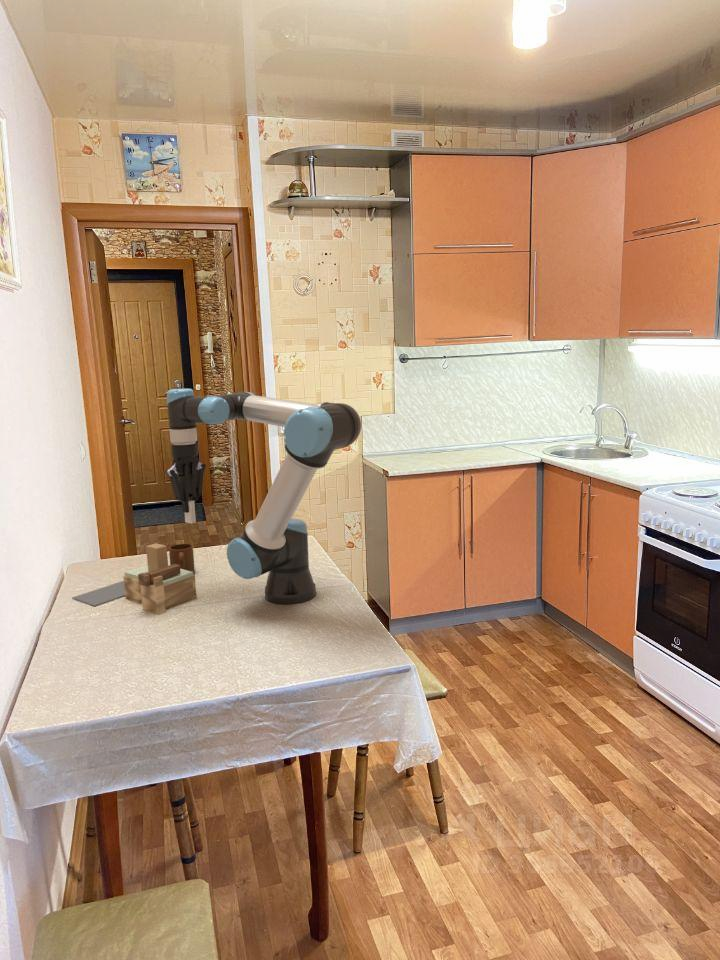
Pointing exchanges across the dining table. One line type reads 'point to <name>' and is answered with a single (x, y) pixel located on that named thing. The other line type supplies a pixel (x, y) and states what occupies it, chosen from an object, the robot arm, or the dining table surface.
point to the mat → (102, 594)
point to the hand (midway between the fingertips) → (190, 522)
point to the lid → (158, 564)
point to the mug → (182, 556)
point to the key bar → (158, 574)
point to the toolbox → (160, 593)
